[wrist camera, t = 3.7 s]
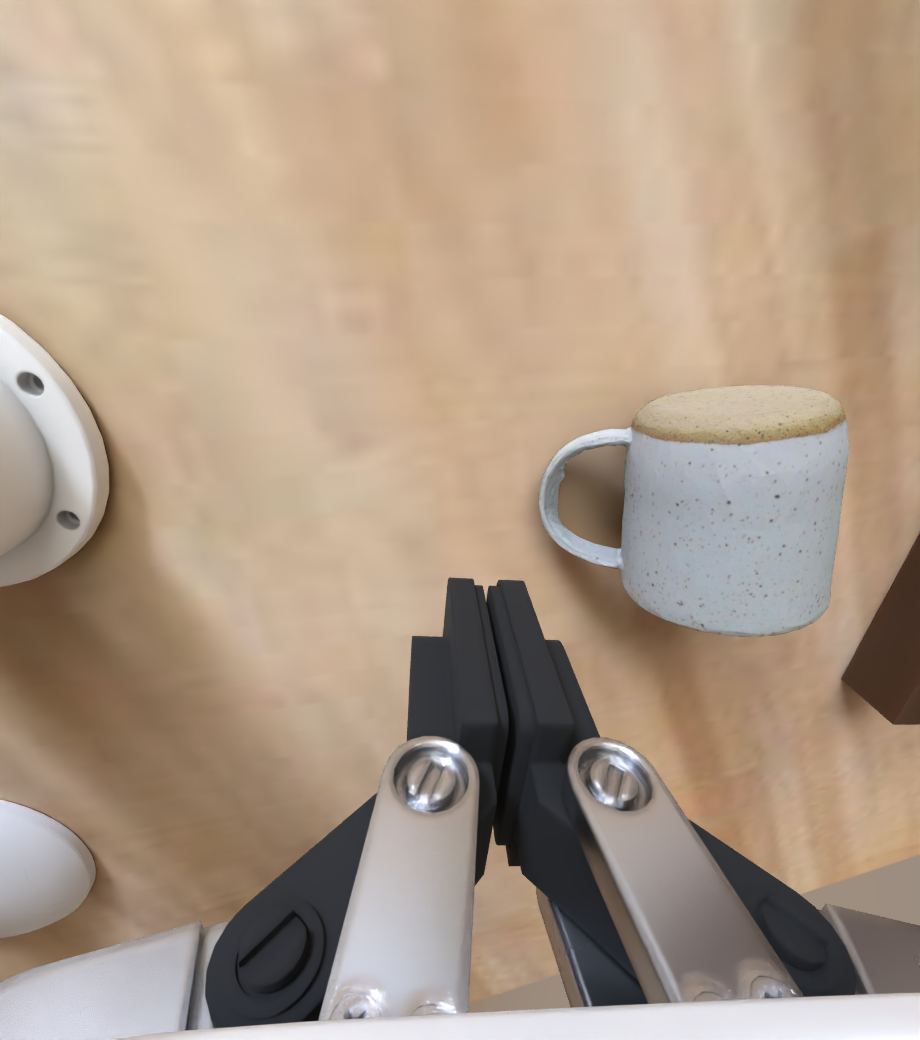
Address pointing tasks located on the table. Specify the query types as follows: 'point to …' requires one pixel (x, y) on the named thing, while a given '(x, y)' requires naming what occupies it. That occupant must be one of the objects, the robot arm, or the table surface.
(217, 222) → the table surface
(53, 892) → the candlestick
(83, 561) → the table surface
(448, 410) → the table surface
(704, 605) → the ceramic mug
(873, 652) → the board
